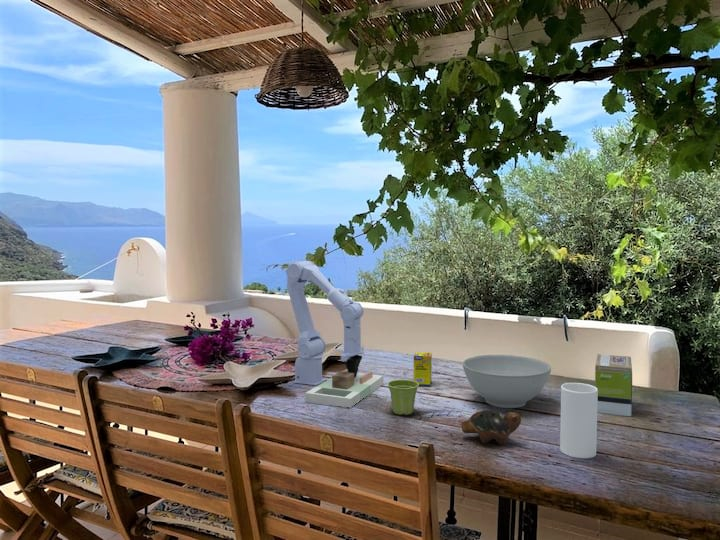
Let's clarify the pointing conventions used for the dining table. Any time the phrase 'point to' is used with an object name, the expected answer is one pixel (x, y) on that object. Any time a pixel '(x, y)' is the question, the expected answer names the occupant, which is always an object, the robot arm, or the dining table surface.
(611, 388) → the tea box
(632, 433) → the dining table surface
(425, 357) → the supplement box
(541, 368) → the decorative bowl
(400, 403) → the plant pot
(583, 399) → the cup
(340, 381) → the walnut block
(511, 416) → the decorative turtle
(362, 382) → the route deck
